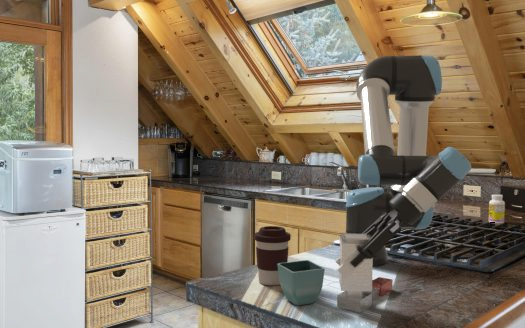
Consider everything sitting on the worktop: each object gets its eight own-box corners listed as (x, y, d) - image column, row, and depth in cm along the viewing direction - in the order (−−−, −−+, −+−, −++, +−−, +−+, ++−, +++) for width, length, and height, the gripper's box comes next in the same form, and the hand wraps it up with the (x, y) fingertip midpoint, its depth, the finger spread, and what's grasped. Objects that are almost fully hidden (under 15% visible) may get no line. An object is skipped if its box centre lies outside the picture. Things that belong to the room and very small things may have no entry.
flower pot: (292, 310, 120) (292, 272, 119) (276, 298, 128) (276, 262, 127) (325, 305, 124) (325, 268, 123) (307, 294, 132) (308, 259, 131)
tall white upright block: (341, 290, 119) (341, 239, 118) (339, 281, 126) (340, 233, 125) (372, 291, 118) (373, 239, 118) (368, 282, 125) (369, 233, 125)
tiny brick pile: (337, 307, 122) (337, 278, 122) (375, 286, 139) (375, 260, 138) (360, 312, 118) (360, 282, 118) (396, 290, 135) (396, 264, 135)
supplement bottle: (487, 221, 243) (488, 193, 242) (502, 221, 241) (503, 194, 240) (489, 223, 237) (490, 195, 236) (505, 224, 235) (506, 196, 234)
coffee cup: (248, 285, 139) (248, 230, 138) (261, 275, 148) (261, 223, 147) (283, 289, 136) (284, 232, 135) (294, 279, 145) (295, 226, 144)
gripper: (433, 221, 110) (355, 293, 112) (414, 207, 130) (348, 269, 132) (408, 196, 110) (331, 269, 112) (393, 186, 130) (327, 248, 132)
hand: (340, 269), depth 122 cm, fingers closed on tall white upright block, 7 cm apart
